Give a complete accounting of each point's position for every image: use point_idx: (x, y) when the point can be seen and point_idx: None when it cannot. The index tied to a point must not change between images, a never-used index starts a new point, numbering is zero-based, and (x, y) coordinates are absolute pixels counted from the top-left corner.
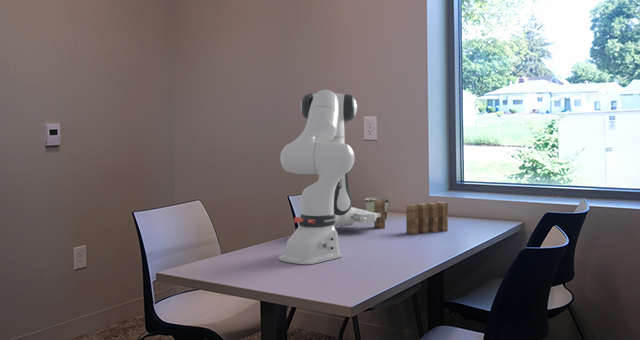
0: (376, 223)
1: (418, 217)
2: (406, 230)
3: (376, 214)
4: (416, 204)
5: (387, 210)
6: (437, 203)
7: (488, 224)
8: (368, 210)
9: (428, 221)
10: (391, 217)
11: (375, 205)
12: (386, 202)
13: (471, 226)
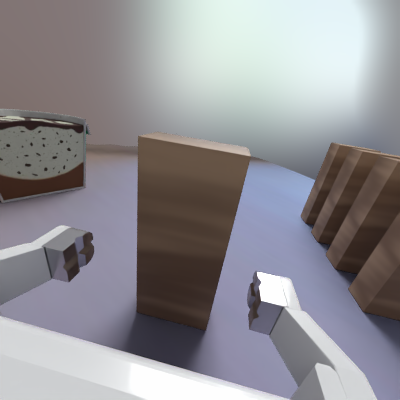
0: (162, 300)
1: (379, 223)
2: (369, 304)
3: (320, 341)
4: (396, 165)
5: (85, 160)
6: (347, 150)
7: (274, 173)
8: (81, 237)
9: (345, 217)
10: (87, 174)
11: (157, 184)
12: (78, 132)
13: (284, 185)
